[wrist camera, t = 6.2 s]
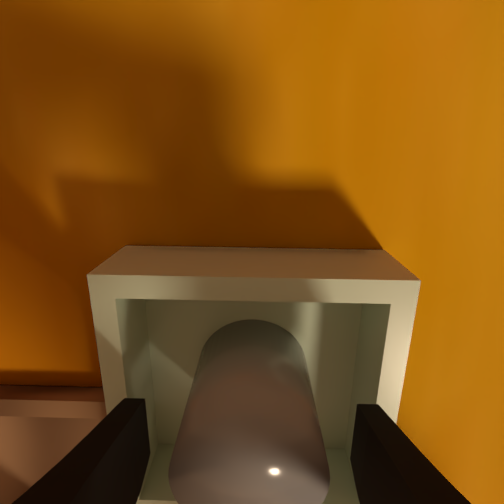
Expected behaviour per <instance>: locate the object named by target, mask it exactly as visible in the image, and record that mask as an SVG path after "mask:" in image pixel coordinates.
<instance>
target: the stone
mask: <svg viewBox="0 0 504 504" xmlns="http://www.w3.org/2000/svg"><path fill="white" fill-rule="evenodd" d="M168 477H169V485H170V488H171V491H172V493H173V496H174V498H175V499H176V501H177V503H178V504H322V503H323V502H324V500H325V498H326V495H327V493H328V489H329V485H330V471H329V465H328V461H327V456H326V451H325V447H324V442H323V437H322V433H321V428H320V423H319V419H318V414H317V410H316V405H315V400H314V396H313V391H312V386H311V382H310V377H309V372H308V368H307V363H306V359H305V355H304V352H303V349H302V347H301V345H300V344H299V342H298V341H297V340H296V338H295V337H294V336H293V335H292V334H291V333H290V332H288V331H287V330H285V329H284V328H282V327H280V326H279V325H277V324H274V323H271V322H268V321H264V320H256V319H248V320H240V321H236V322H232V323H230V324H227V325H225V326H223V327H221V328H220V329H218V330H217V331H216V332H214V333H213V334H212V335H211V336H210V337H209V339H208V340H207V341H206V343H205V344H204V346H203V348H202V351H201V354H200V357H199V361H198V364H197V368H196V371H195V375H194V379H193V382H192V386H191V389H190V393H189V396H188V400H187V403H186V407H185V410H184V414H183V418H182V421H181V425H180V428H179V432H178V435H177V439H176V442H175V446H174V449H173V453H172V457H171V460H170V464H169V472H168Z"/></svg>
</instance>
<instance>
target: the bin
mask: <svg viewBox="0 0 504 504" xmlns="http://www.w3.org/2000/svg"><path fill="white" fill-rule="evenodd" d="M87 280H88V287H89V294H90V301H91V308H92V315H93V322H94V329H95V336H96V343H97V350H98V356H99V363H100V370H101V377H102V384H103V391H104V398H105V405H106V412H107V415H108V414H109V413H110V412H111V411H112V410H113V409H114V408H115V407H116V406H117V405H118V404H119V403H120V402H121V401H122V400H123V399H124V398H144V399H145V403H146V413H147V423H148V433H149V443H150V457H149V461H148V465H147V469H146V473H145V477H144V480H143V484H142V488H141V491H140V494H139V497H138V500H137V502H136V504H178V503H177V501H176V499H175V498H174V496H173V493H172V491H171V488H170V485H169V477H168V472H169V464H170V460H171V457H172V453H173V449H174V446H175V442H176V439H177V435H178V432H179V428H180V425H181V421H182V418H183V414H184V410H185V407H186V403H187V400H188V396H189V393H190V389H191V386H192V382H193V379H194V375H195V371H196V368H197V364H198V361H199V357H200V354H201V351H202V348H203V346H204V344H205V343H206V341H207V340H208V339H209V337H210V336H211V335H212V334H213V333H214V332H216V331H217V330H218V329H220V328H221V327H223V326H225V325H227V324H230V323H232V322H236V321H240V320H248V319H256V320H264V321H268V322H271V323H274V324H277V325H279V326H280V327H282V328H284V329H285V330H287V331H288V332H290V333H291V334H292V335H293V336H294V337H295V338H296V340H297V341H298V342H299V344H300V345H301V347H302V349H303V352H304V355H305V359H306V363H307V368H308V372H309V377H310V382H311V386H312V391H313V396H314V400H315V405H316V410H317V414H318V419H319V423H320V428H321V433H322V437H323V442H324V447H325V451H326V456H327V461H328V465H329V471H330V485H329V489H328V493H327V495H326V498H325V500H324V502H323V503H322V504H360V502H359V499H358V495H357V490H356V485H355V481H354V476H353V471H352V466H351V461H350V455H351V447H352V439H353V431H354V424H355V416H356V408H357V404H378V405H379V406H380V407H381V408H382V409H383V410H384V411H385V412H386V413H387V415H388V416H389V417H390V418H391V419H392V420H393V421H394V422H395V424H396V422H397V416H398V410H399V404H400V399H401V393H402V387H403V381H404V375H405V370H406V364H407V358H408V352H409V346H410V341H411V335H412V329H413V323H414V318H415V312H416V306H417V300H418V294H419V289H420V283H421V280H419V279H418V278H417V277H416V276H415V275H414V274H412V273H411V272H410V271H409V270H408V269H406V268H405V267H404V266H403V265H402V264H400V263H399V262H398V261H397V260H396V259H395V258H393V257H392V256H391V255H390V254H389V253H387V252H386V251H385V250H365V249H306V248H248V247H189V246H131V245H125V246H124V247H123V248H121V249H120V250H119V251H117V252H116V253H115V254H113V255H112V256H111V257H109V258H108V259H107V260H105V261H104V262H103V263H101V264H100V265H99V266H97V267H96V268H95V269H93V270H92V271H91V272H89V273H88V274H87Z"/></svg>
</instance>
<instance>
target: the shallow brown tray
mask: <svg viewBox="0 0 504 504" xmlns="http://www.w3.org/2000/svg"><path fill="white" fill-rule="evenodd" d="M106 416H107V412H106V405H105V398H104V391H103V387H65V386H23V385H0V504H12V503H13V502H14V501H15V500H16V499H17V498H19V497H20V496H21V495H22V494H23V493H25V492H26V491H27V490H28V489H29V488H30V487H31V486H33V485H34V484H35V483H36V482H37V481H38V480H39V479H40V478H41V477H43V476H44V475H45V474H46V473H47V472H48V471H49V470H50V469H52V468H53V467H54V466H55V465H56V464H57V463H58V462H59V461H60V460H61V459H63V458H64V457H65V456H66V455H67V454H68V453H69V452H70V451H71V450H72V449H73V448H74V447H75V446H76V445H77V444H78V443H79V442H80V441H81V440H82V439H83V438H84V437H85V436H86V435H88V434H89V433H90V432H91V431H92V430H93V429H94V428H95V427H96V426H97V425H98V424H99V423H100V422H101V421H102V420H103V419H104V418H105V417H106Z"/></svg>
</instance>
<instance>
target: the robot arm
mask: <svg viewBox="0 0 504 504" xmlns="http://www.w3.org/2000/svg"><path fill="white" fill-rule="evenodd" d="M149 457H150V443H149V433H148V423H147V413H146V403H145V399H144V398H124V399H123V400H122V401H121V402H120V403H119V404H118V405H117V406H116V407H115V408H114V409H113V410H112V411H111V412H110V413H109V414H108V415H107V416H106V417H105V418H104V419H103V420H102V421H101V422H100V423H99V424H98V425H97V426H96V427H95V428H94V429H93V430H92V431H91V432H90V433H89V434H88V435H86V436H85V437H84V438H83V439H82V440H81V441H80V442H79V443H78V444H77V445H76V446H75V447H74V448H73V449H72V450H71V451H70V452H69V453H68V454H67V455H66V456H65V457H64V458H63V459H61V460H60V461H59V462H58V463H57V464H56V465H55V466H54V467H53V468H52V469H50V470H49V471H48V472H47V473H46V474H45V475H44V476H43V477H41V478H40V479H39V480H38V481H37V482H36V483H35V484H34V485H33V486H31V487H30V488H29V489H28V490H27V491H26V492H25V493H23V494H22V495H21V496H20V497H19V498H17V499H16V500H15V501H14V502H13V503H12V504H136V502H137V500H138V497H139V494H140V491H141V488H142V484H143V480H144V477H145V473H146V469H147V465H148V461H149ZM350 461H351V466H352V471H353V476H354V481H355V485H356V490H357V495H358V499H359V502H360V504H471V503H470V502H469V501H468V500H467V499H466V498H465V497H464V496H463V495H462V494H461V493H460V492H459V491H458V490H457V489H456V488H455V487H454V486H453V485H452V484H451V483H450V482H449V481H448V480H447V479H446V478H445V477H444V476H443V475H442V474H441V473H440V472H439V471H438V470H437V469H436V468H435V467H434V466H433V464H432V463H431V462H430V461H429V460H428V459H427V458H426V457H425V456H424V455H423V454H422V453H421V452H420V451H419V449H418V448H417V447H416V446H415V445H414V444H413V443H412V442H411V441H410V439H409V438H408V437H407V436H406V435H405V434H404V433H403V432H402V430H401V429H400V428H399V427H398V426H397V425H396V424H395V422H394V421H393V420H392V419H391V418H390V417H389V416H388V415H387V413H386V412H385V411H384V410H383V409H382V408H381V407H380V406H379V405H378V404H357V408H356V416H355V424H354V431H353V439H352V447H351V455H350Z"/></svg>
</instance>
